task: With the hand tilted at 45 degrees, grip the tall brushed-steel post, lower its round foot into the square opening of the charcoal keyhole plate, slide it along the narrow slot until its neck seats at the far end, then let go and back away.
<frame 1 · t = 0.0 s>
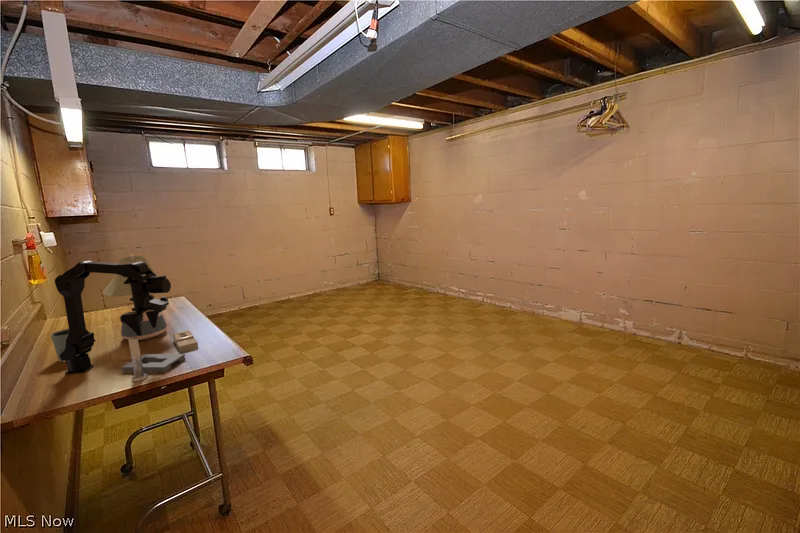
hand: (147, 331, 142), 15 cm above the table, tool pointing down, fingers open, 9 cm apart
keyhole plate: (154, 365, 145), on the table
desk lamp: (145, 336, 179), on the table
steel post: (140, 378, 134), on the table
drinking glass: (72, 357, 156), on the table
electrical outlet: (185, 345, 166), on the table
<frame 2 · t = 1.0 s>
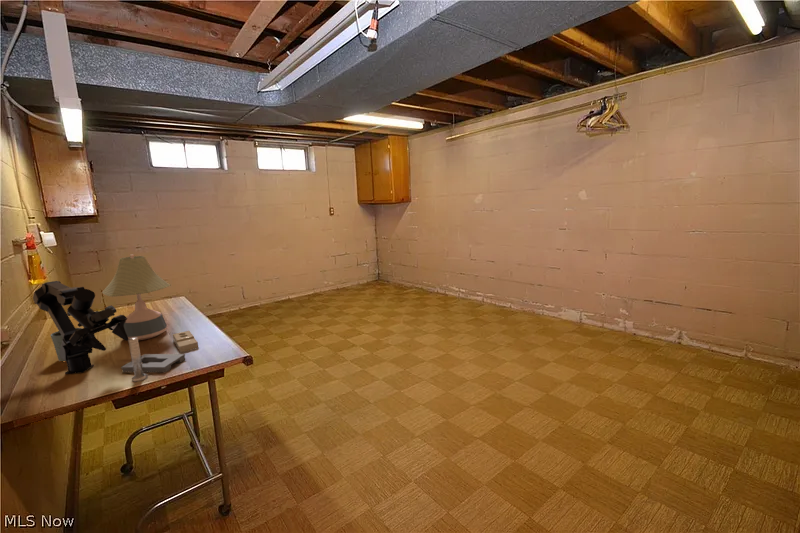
hand: (116, 344, 133), 13 cm above the table, tool tilted 45°, fingers open, 9 cm apart
nothing on the table moved.
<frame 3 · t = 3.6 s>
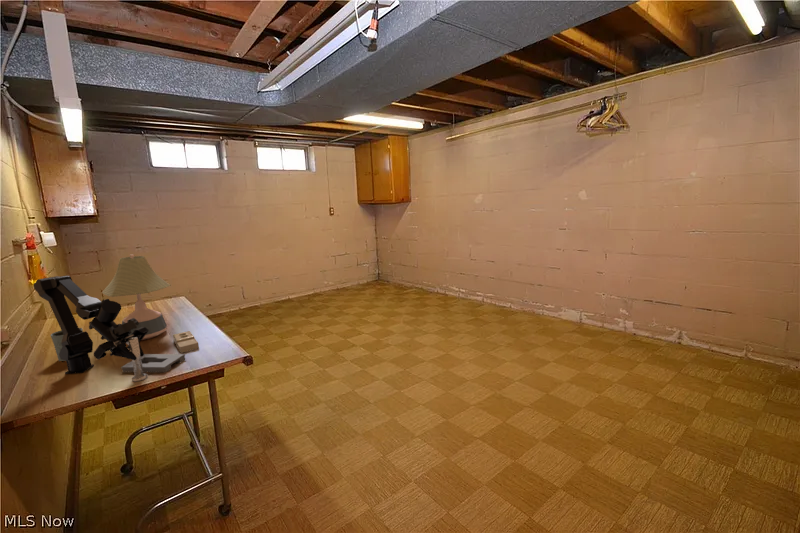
hand: (139, 357, 132), 9 cm above the table, tool tilted 45°, fingers closed on steel post, 3 cm apart
steel post: (140, 378, 134), on the table, touching gripper
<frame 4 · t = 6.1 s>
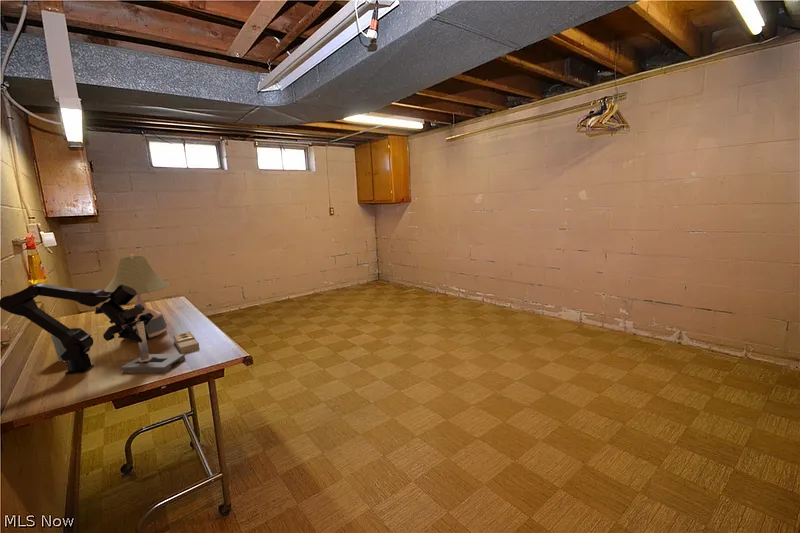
hand: (145, 340, 143), 11 cm above the table, tool tilted 45°, fingers closed on steel post, 3 cm apart
steel post: (145, 360, 144), point 2 cm above the table, touching gripper
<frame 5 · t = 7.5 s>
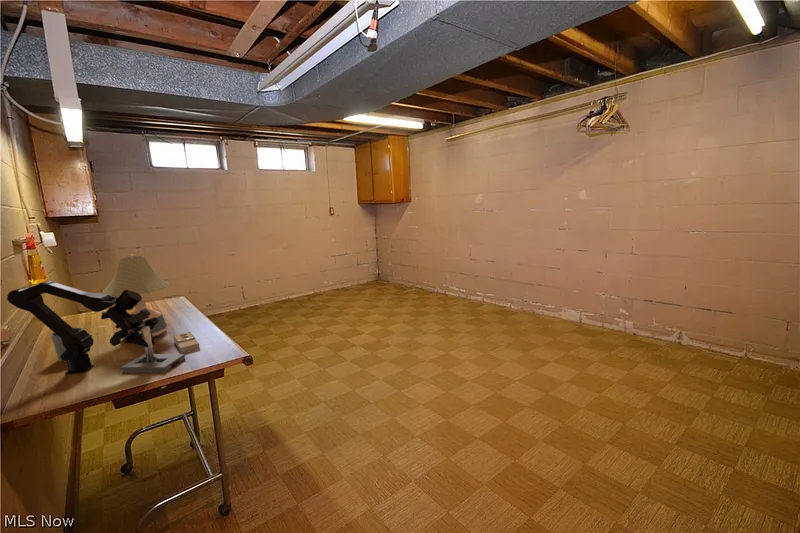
hand: (151, 344, 143), 9 cm above the table, tool tilted 45°, fingers closed on steel post, 3 cm apart
steel post: (151, 364, 145), resting in keyhole plate, touching gripper
when the fingers open (9 cm above the table, at t = 8.6 s): steel post stays where it is, resting in keyhole plate.
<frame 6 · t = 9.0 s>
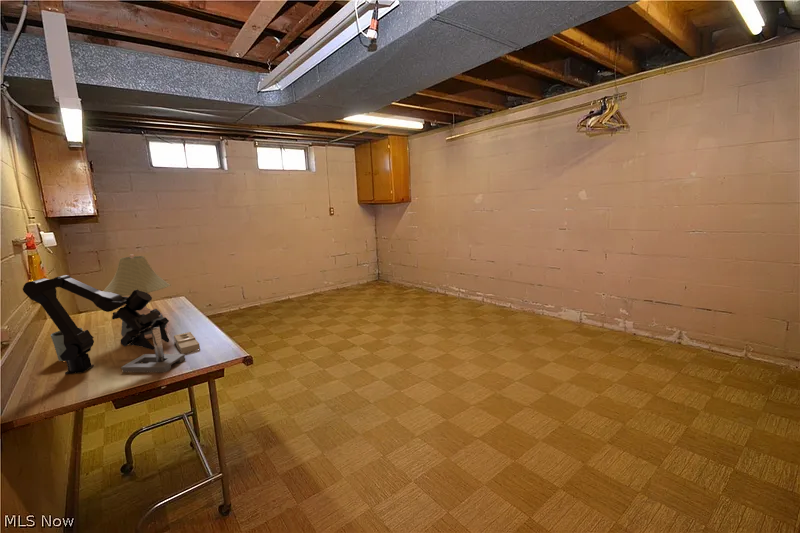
hand: (161, 345, 143), 9 cm above the table, tool tilted 45°, fingers open, 7 cm apart
steel post: (161, 365, 144), resting in keyhole plate
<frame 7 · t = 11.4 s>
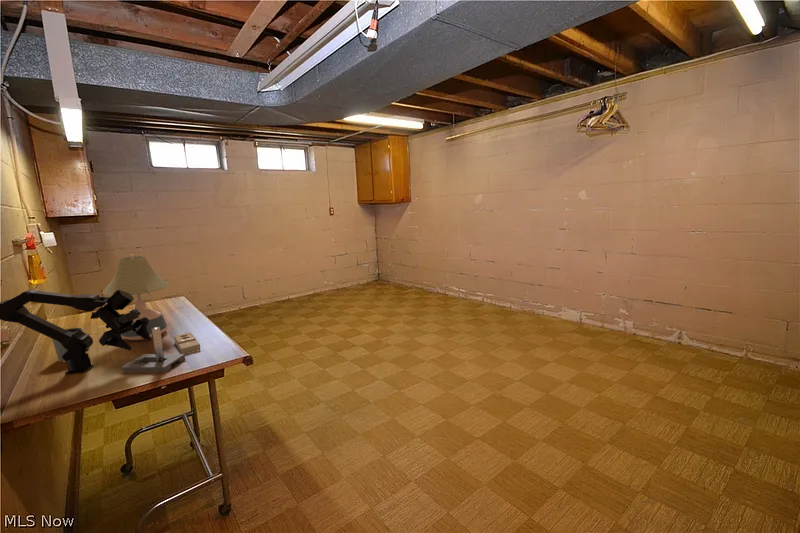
hand: (140, 344, 144), 9 cm above the table, tool tilted 45°, fingers open, 9 cm apart
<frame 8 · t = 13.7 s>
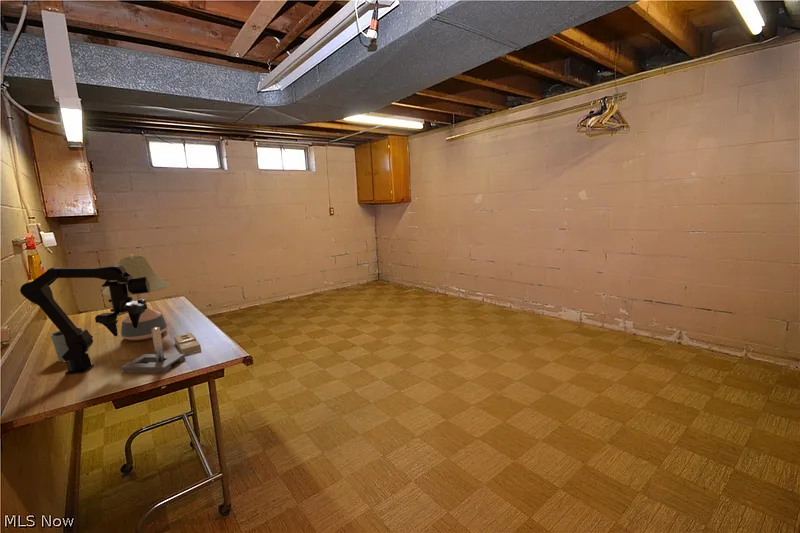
hand: (126, 331, 147), 13 cm above the table, tool pointing down, fingers open, 9 cm apart
at the end: steel post 0.1 cm from the target spot on the keyhole plate, point 0.0 cm above the keyhole plate's base; steel post tilted 0°; the gripper is holding nothing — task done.
